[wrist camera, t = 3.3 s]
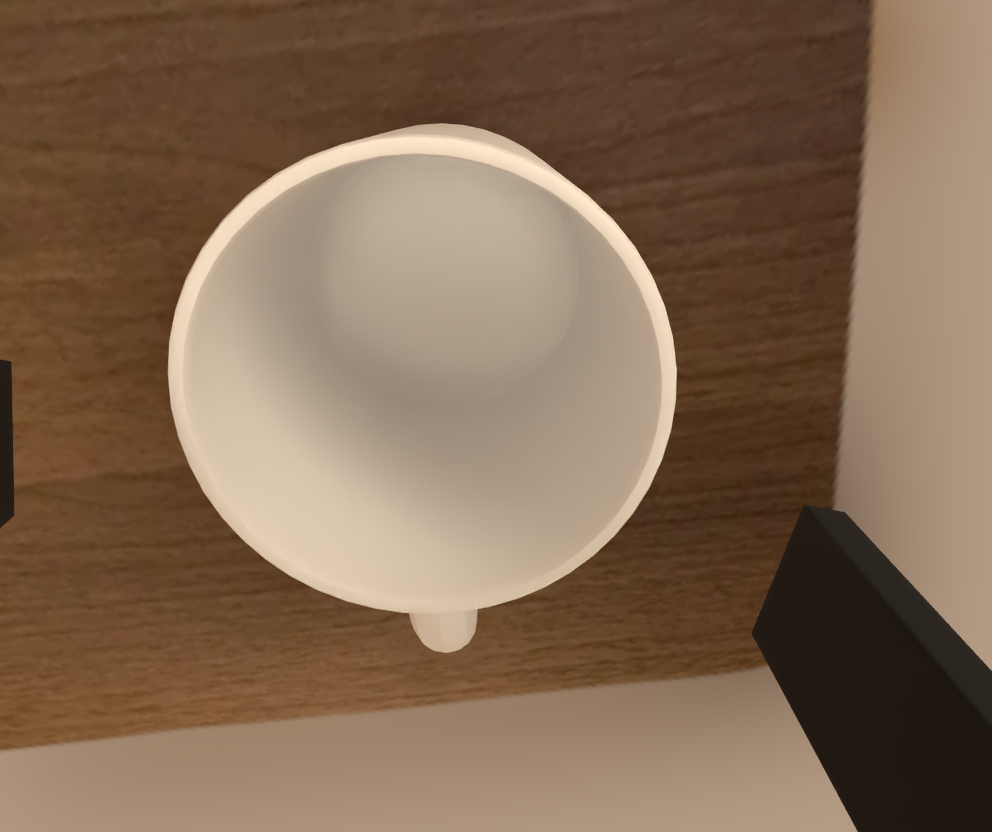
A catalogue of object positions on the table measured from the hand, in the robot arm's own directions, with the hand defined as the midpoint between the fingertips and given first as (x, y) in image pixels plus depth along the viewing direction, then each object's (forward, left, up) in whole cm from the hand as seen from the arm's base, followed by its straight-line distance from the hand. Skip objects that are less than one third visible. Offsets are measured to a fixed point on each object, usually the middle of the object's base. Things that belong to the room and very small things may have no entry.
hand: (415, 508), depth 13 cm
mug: (0, 0, -11) cm, 11 cm away
